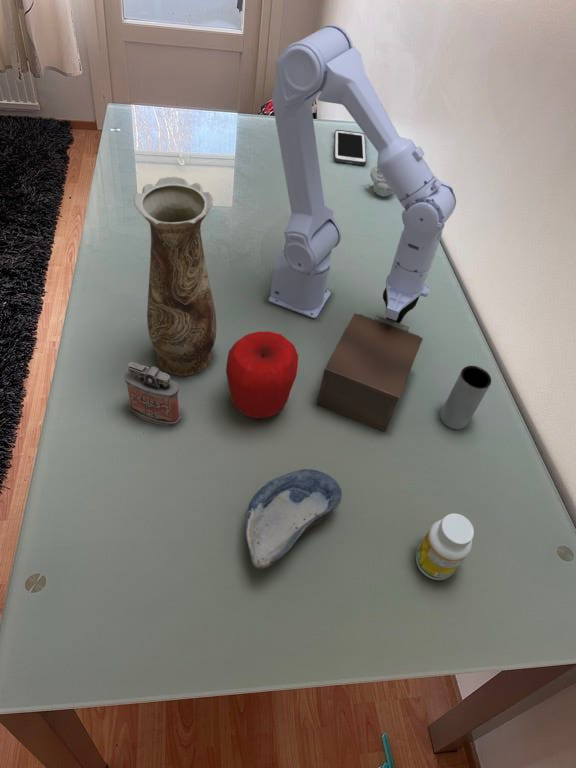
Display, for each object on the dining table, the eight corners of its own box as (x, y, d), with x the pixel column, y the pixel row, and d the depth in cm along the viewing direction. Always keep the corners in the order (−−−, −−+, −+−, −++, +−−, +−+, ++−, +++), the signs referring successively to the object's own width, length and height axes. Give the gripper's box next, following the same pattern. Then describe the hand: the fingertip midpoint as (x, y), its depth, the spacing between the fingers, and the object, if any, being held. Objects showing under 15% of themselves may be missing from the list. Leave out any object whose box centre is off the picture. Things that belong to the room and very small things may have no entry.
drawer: (359, 327, 104) (367, 298, 99) (415, 348, 102) (426, 320, 97) (325, 392, 94) (332, 363, 89) (387, 416, 92) (398, 389, 87)
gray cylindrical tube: (434, 417, 94) (455, 375, 86) (449, 402, 96) (471, 360, 88) (458, 434, 92) (481, 393, 84) (473, 419, 94) (497, 377, 87)
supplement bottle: (441, 589, 76) (466, 558, 68) (406, 562, 78) (427, 529, 70) (461, 560, 79) (487, 527, 71) (427, 534, 80) (449, 500, 73)
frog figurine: (366, 184, 136) (372, 156, 131) (396, 189, 136) (403, 161, 131) (365, 199, 132) (371, 170, 127) (395, 204, 132) (403, 176, 127)
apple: (260, 368, 97) (267, 307, 86) (304, 406, 93) (317, 347, 82) (211, 400, 91) (211, 339, 81) (255, 442, 87) (261, 383, 77)
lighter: (184, 413, 89) (182, 370, 82) (174, 430, 87) (171, 387, 79) (136, 396, 90) (129, 352, 83) (125, 413, 88) (117, 369, 81)
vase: (227, 348, 99) (232, 189, 76) (194, 391, 92) (189, 231, 69) (173, 325, 101) (163, 164, 78) (137, 366, 94) (114, 203, 71)
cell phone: (334, 162, 141) (334, 158, 140) (334, 132, 151) (335, 129, 150) (365, 166, 141) (366, 162, 141) (364, 136, 151) (365, 132, 150)
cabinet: (345, 349, 102) (354, 312, 95) (408, 373, 99) (423, 338, 93) (316, 404, 93) (324, 368, 86) (385, 432, 91) (399, 397, 84)
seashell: (340, 586, 74) (347, 570, 71) (241, 580, 74) (243, 564, 70) (335, 481, 84) (341, 462, 81) (248, 475, 84) (250, 456, 80)
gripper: (426, 296, 86) (402, 359, 96) (448, 243, 95) (424, 306, 105) (380, 280, 87) (362, 344, 97) (406, 230, 96) (387, 293, 106)
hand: (391, 323), depth 101 cm, fingers closed, pressing on drawer
